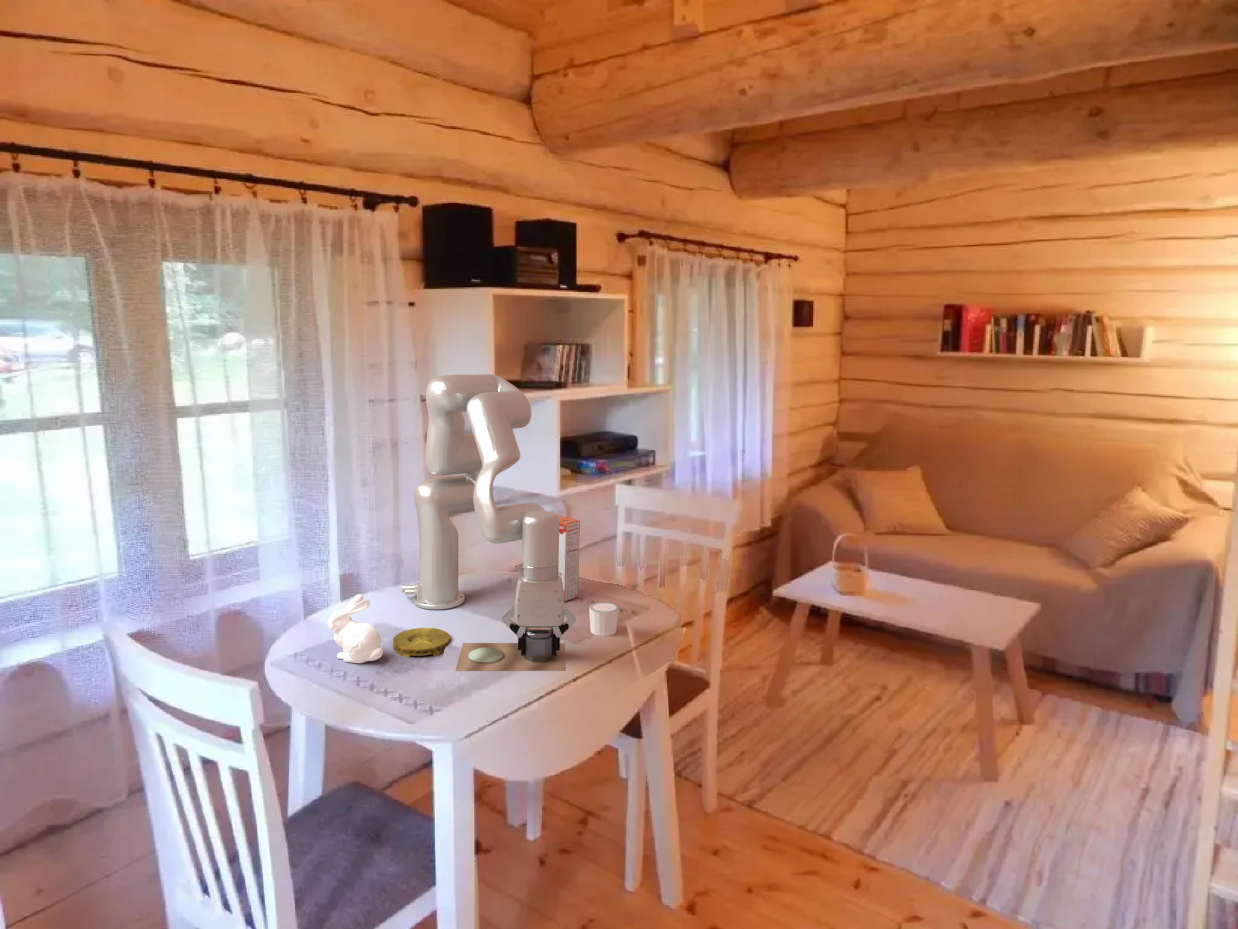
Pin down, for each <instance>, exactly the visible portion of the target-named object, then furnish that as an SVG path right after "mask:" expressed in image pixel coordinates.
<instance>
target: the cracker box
mask: <svg viewBox="0 0 1238 929" xmlns="http://www.w3.org/2000/svg"><path fill="white" fill-rule="evenodd" d="M556 515H557V516H558V518H559V564H558V575H559V576H561V578H562V583H563V591H564V603H566V602H568V601H571V600H573V599H576V598H578V597H579V580H580V579H579V575H580V538H581V537H580V531H581V520H579V519H575V518H571V517H567V516H562V515H560V514H556Z"/></svg>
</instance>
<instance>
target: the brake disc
mask: <svg viewBox="0 0 1238 929" xmlns="http://www.w3.org/2000/svg"><path fill="white" fill-rule="evenodd" d="M450 641H451V636H450V634H449V633H448V632H447V631H445V630H444V629H443V630H442V629H439V628H434V627H416V628H412V629H407V630H404V631H401V632H399V633H397V634H396V635H395V636H394V637H393V639H392V644H393V646H392V647H393V650H394V651H395V652H396V654H397V655H399V656H402V657H406V658H410V657H411V656H412V657H413V656H415V657H416V656H418V657H420V656H428V655H429V656H430V655H432V656H434V657H435V656H437V655H438V656H439V655H441V654H443V653H445V650H446V647H447V646H448V644H450Z"/></svg>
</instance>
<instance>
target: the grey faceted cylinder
mask: <svg viewBox="0 0 1238 929" xmlns="http://www.w3.org/2000/svg"><path fill="white" fill-rule="evenodd" d="M524 634H525V637H524V638H525V654H524V659H526V660H528V661H531V662H546V661H549V660H551V659H553V637H554V636H553V634H554V630H553V628H552V627H526V628H525V631H524Z"/></svg>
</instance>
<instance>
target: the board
mask: <svg viewBox="0 0 1238 929" xmlns="http://www.w3.org/2000/svg"><path fill="white" fill-rule="evenodd" d="M565 646H566V645H565V642H560V650H556V656H554V655H553V659H551V660H549V661H546V662H531V661H528V660H526V659H524V656H521V650H518V642H462V646H461V649H460V653H459V657H458V661H457V663H456V664H457V665H456V668H455V672H534V671H535V672H537V671H538V672H544V671H545V672H546V671H547V672H555V671H556V672H557V671H558V672H561V671H562V672H564V671H565V672H566V653H565V652H566V651H565Z"/></svg>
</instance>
